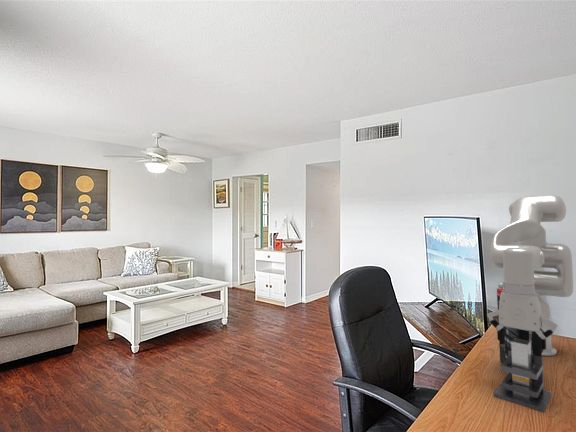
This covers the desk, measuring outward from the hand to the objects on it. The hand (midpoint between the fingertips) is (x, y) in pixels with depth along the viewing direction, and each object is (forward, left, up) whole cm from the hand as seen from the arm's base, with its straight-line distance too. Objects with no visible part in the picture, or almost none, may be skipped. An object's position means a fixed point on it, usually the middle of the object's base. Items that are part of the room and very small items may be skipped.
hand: (521, 347), depth 99 cm
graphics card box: (-16, -4, -15) cm, 22 cm away
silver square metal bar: (0, 0, -13) cm, 13 cm away
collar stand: (0, 0, -14) cm, 14 cm away
